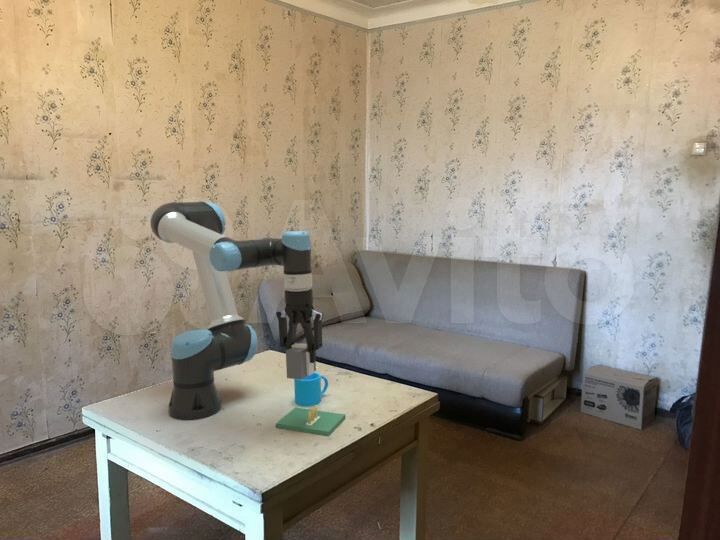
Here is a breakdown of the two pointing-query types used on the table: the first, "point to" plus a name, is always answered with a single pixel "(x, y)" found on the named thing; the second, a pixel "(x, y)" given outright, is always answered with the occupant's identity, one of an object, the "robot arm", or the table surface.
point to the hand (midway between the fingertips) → (302, 372)
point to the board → (311, 421)
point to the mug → (309, 390)
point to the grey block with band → (297, 361)
